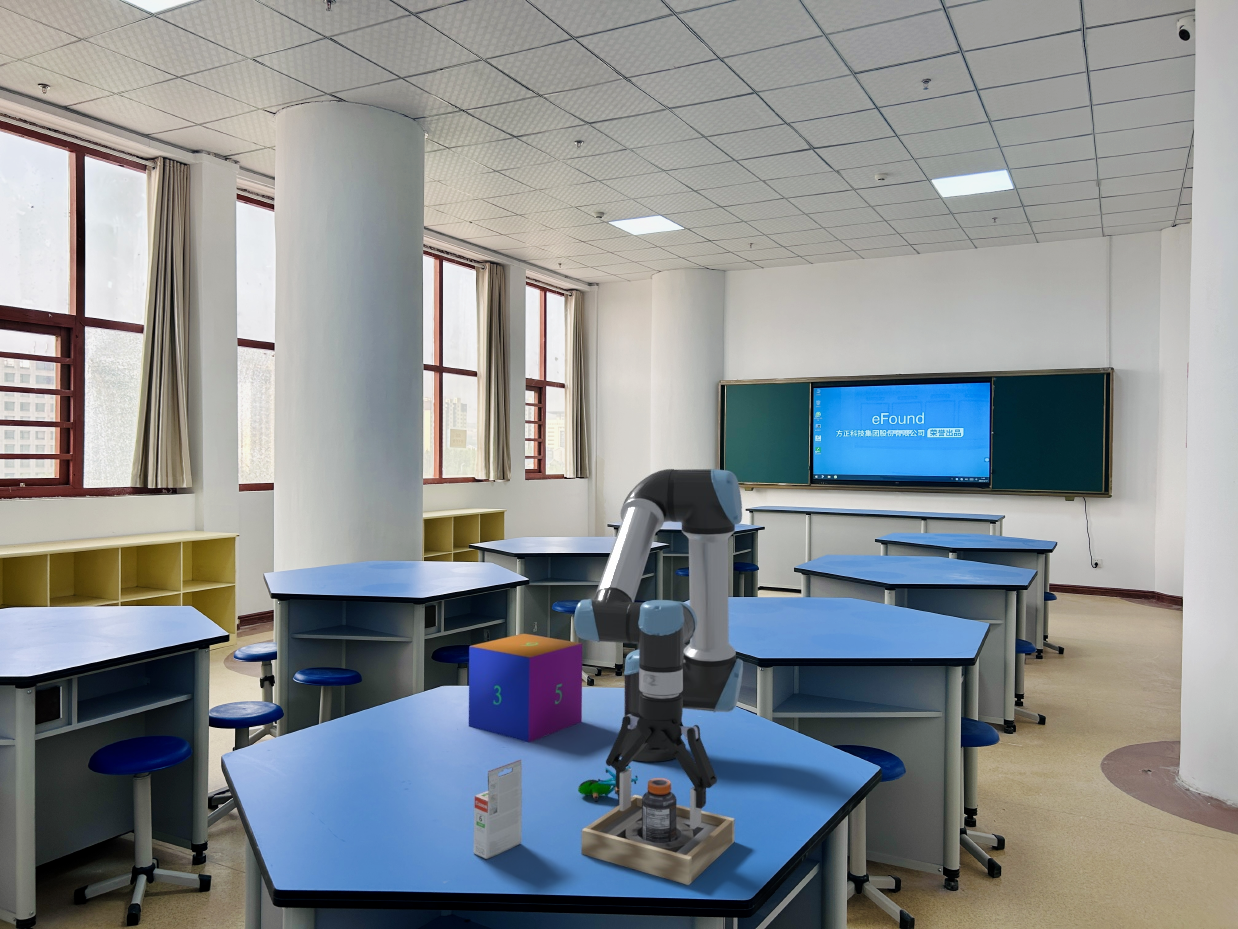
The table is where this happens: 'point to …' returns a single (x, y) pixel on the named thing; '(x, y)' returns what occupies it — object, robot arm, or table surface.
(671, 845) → the bore box
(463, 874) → the table surface
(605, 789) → the stick construction toy
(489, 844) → the ink box
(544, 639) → the cube
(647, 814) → the pill bottle
